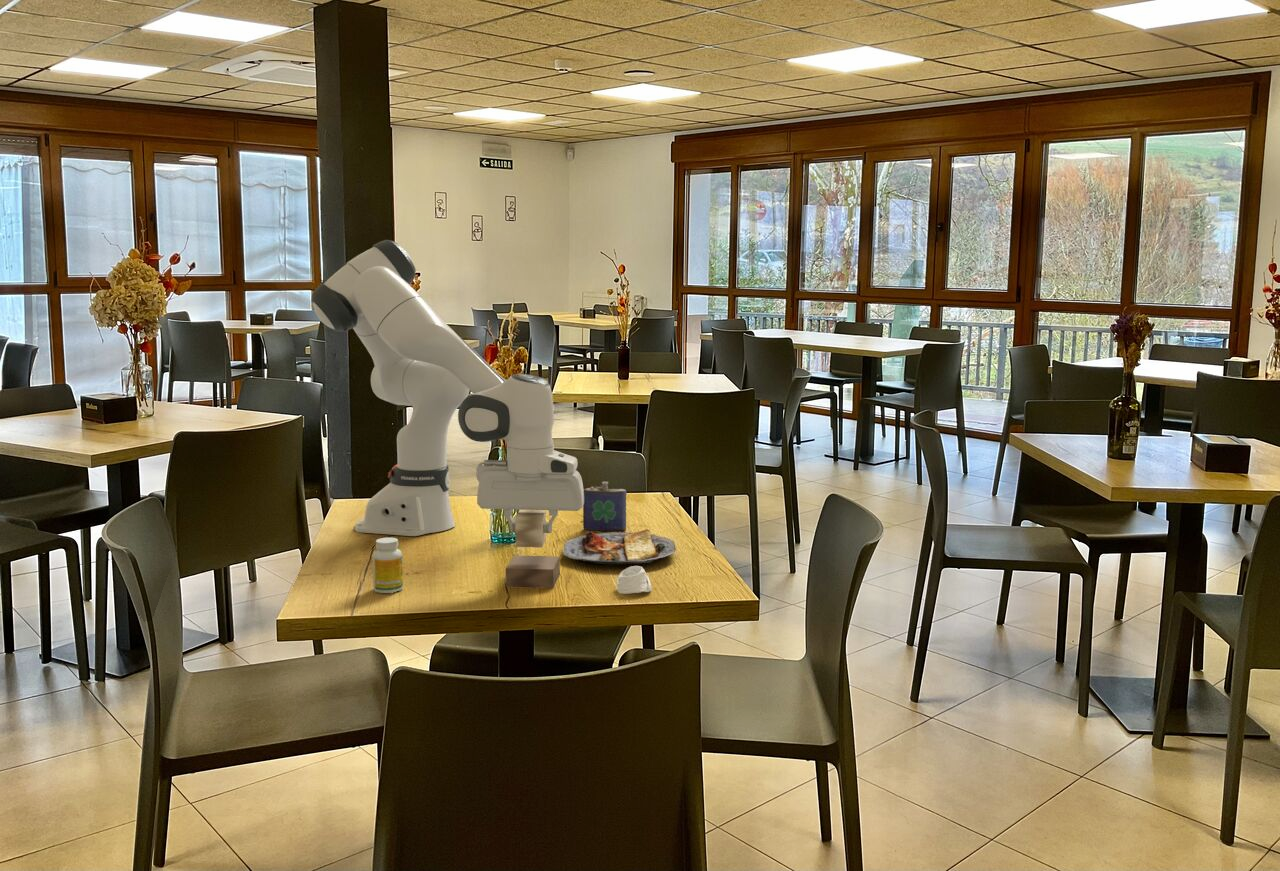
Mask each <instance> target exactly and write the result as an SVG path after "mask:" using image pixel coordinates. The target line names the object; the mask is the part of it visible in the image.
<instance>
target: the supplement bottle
mask: <svg viewBox="0 0 1280 871" xmlns="http://www.w3.org/2000/svg"><path fill="white" fill-rule="evenodd" d="M398 547H399V539H398V538H396V537H382V538H378V539H376V540H375V548H376V550H374V552H373V553H372V580H373V581H372V585H373V591H374V592H375V591H376V593H377V592H378V594H383V593H390V594H393V593H392V592H395V593H397V592H396V591H399V590H400V591H402V590H403V588H404V582H403V581H404V579H403V578H404V576H403V575H404V574H403V573H404V572H403V553H402V551H401V550H400V549H399V548H398ZM401 589H402V590H401ZM400 591H399V592H400Z"/></svg>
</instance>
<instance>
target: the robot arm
mask: <svg viewBox="0 0 1280 871" xmlns="http://www.w3.org/2000/svg"><path fill="white" fill-rule="evenodd" d="M416 271H417V269H416V267H415V264H414V261H413V259H412V256H411V255H410V254H409V252H408V251H407V250H406V249H405V248H404V247H402V246H401V245H399V244H398V243H397V241H394V240H389V239H384V240H382V241H379V242H377V243H375V244H373V245H372V247H371V248H369V249H367V250H365V251H364V252H362V253H360V254H358V255H356V256H355V257H353V258H352V259H350V260H348V261H347V262H346V264H345V265H343V266H342V267H341V268H340V269H338V270H337V271H336V272H335V273H333V274H332V276H330V277H329V278H328V279H327V280H326V281H325V282H324V283H322V282H321V283H320V284H319V285H318V286H317V287H316V288H315V289H314V291H313V292H312V294H311V304H312V306H313V310H314V313H315V315H316V317H318V319H319V321H321V323H322V324H324V325H325V326H326V327H328V328H330V329H332V330H333V331H334V332H340V333H343V332H346V331H349V330H351V329H352V330H354V332H355V334H356V336H357V337H358V338H359V340H360V341H361V343H362V344H363V346H364V347H365V348H366V350H367V352H368V353H369V355H370V356H371V358H372V362H373V365H374V367H373V369H372V371H371V373H370V374H371V375H370V386H371V389H372V392H373V393H374V395H375V396H376V397H377V398H379V399H380V400H383V401H385V402H388V403H390V404H393V405H397V406H398V405H399V406H409V407H412V413H411V416H410V420H409V422H408V423H407V424H405V425H404V426H403V427H402V428H400V430H399V431H398V432H397V435H396V452H397V454H396V455H397V457H396V458H397V464H395V465H394V466H392V467H391V469H390V470H389V472H388V473H387V474H388V475H387V478H389V481H390V482H389V483H388V484H387V485H386V486H384V487H383V488H382V489H381V490H379V491H378V492H377V493H376V494H375V495H373V496H372V497H371V498H370V499H369V500H368V502H367V504H366V506H365V512H364V517H363V518H361V519H360V520H358V521H356V523H355V525H354V530H355V532H356V533H366V534H367V533H368V534H380V535H394V536H403V537H404V536H405V537H406V536H407V537H417V536H422V535H426V534H430V533H439V532H443V531H447V530H450V529H452V528H453V527H455V526H456V522H455V519H454V515H453V513H452V509H451V508H452V507H451V504H450V503H451V502H450V496H449V494H450V493H449V489H450V485H451V484H450V483H451V482H450V472H449V465H448V464H447V461H448V460H447V441H448V439H447V438H448V431H449V426H450V423H451V420H452V417H453V415H454V414H455V412H456V411H457V409H458V412H457V419H458V420H457V421H458V425H459V427H460V430H461V431H462V433H463V434H464V435H465V436H466V438H468V439H469V440H471V441H474V442H479V443H488V442H494V441H496V440H504V441H505V442H506V459H499V460H498V459H497V460H493V459H492V460H491V459H485V460H484V461H482V462H480V463H479V464H477V466H476V469H475V470H476V480H477V481H478V485H477V486H478V487H477V495H476V496H477V498H476V502H477V503H476V504H477V505H478V507H479V508H480V509H482V510H484V509H485V510H503V516H504V517H505V519H506V520H507V523H508V524H509V533H516V528H515V520H514V517H513V515H512V513H513V512H514V510H519V511H520V510H545V511H548V515H549V516H550V519H549V521H546V522H544V524H543V528H544V530H543V533H546V534H552V532H553V523H554V521H555V519H556V517H557V516H558V514H559V511H563V512H565V511H566V512H567V511H569V512H579V511H581V509H583V505H584V489H585V488H584V484H583V479H582V475H581V474H580V472H579V471H578V470H577V469H578V459H577V457H575V456H574V455H569V454H566V453H563V452H560V451H558V450H555V444H554V443H555V442H554V439H553V432H552V431H553V426H554V422H555V419H554V416H555V415H554V412H555V411H554V400H553V393H552V388H551V385H550V383H549V382H548V381H547V380H546V379H544V378H543V377H541V376H537V375H533V374H525V373H518V374H517V373H516V374H512V375H511V376H509V377H508V378H507V379H506V378H504V377H502V376H501V375H500V374H499V373H498V372H497V371H496V370H495V369H494V368H493V367H492V365H490V364H489V363H488V361H486V360H485V359H484V358H483V357H482V356H481V355H480V354H479V353H478V352H477V351H476V350H475V349H474V348H473V347H471V345H470V344H469V343H467V341H465V340H464V339H463V338H462V337H460V335H459V334H457V333H456V332H455V331H454V329H452V328H451V326H449V325H448V324H447V323H446V322H445V321H444V319H442V318H441V317H440V316H439V315H438V314H437V313H436V312H435V310H434V309H433V308H432V307H431V306H430V305H429V304H428V302H427V301H426V300H425V299H424V298H423V297H422V296H421V294H420V293H418V292H417V290H415V289H414V288H413V287H412V286H411V284H412V282H413V281H414V280H415V278H416ZM470 392H471V393H472V394H470ZM469 394H470V395H469Z"/></svg>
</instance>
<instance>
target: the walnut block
mask: <svg viewBox="0 0 1280 871" xmlns="http://www.w3.org/2000/svg"><path fill="white" fill-rule="evenodd" d="M560 560H561V558H560V556H558V555H557V556H556V555H555V556H553V555H549V556H548V555H516V554H515V555H513V556H512V558H511V559H510V562H509V563H508V564H507V565H506V567H505V588H519V589H520V588H523V589H524V588H525V589H554V588H555V586H556V584H557V582H558V579H559V578H560V575H561V574H560V573H561V570H560V569H561V567H560V566H561V564H560V563H561V562H560ZM556 581H557V582H556Z"/></svg>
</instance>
